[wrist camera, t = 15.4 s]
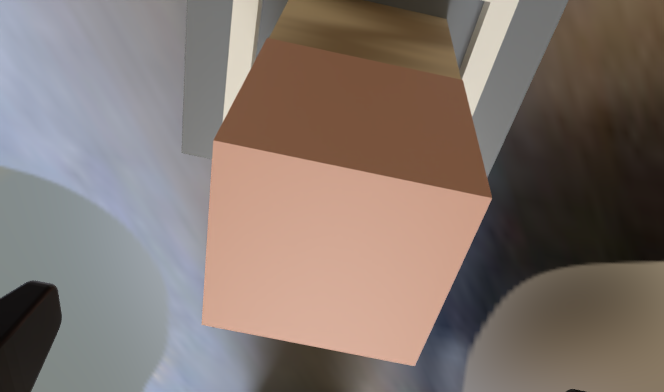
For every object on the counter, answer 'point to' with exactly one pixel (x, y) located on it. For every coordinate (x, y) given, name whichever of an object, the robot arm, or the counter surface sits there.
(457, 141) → the terracotta block
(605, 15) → the counter surface
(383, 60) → the maple block
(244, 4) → the baseplate
